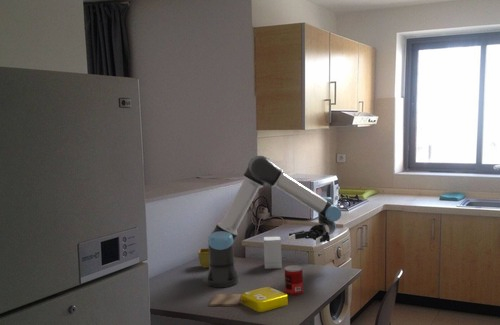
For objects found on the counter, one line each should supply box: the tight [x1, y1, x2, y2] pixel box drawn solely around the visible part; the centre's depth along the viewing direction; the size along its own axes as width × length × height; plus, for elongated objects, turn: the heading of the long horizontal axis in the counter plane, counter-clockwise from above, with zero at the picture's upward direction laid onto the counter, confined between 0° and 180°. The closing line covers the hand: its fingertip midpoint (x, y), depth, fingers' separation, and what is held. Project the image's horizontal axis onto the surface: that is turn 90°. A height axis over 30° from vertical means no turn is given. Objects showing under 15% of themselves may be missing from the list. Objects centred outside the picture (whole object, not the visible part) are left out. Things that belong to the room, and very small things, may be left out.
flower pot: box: [197, 247, 210, 269], centre depth 257 cm, size 9×9×9 cm
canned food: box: [284, 264, 304, 296], centre depth 210 cm, size 8×8×11 cm
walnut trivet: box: [208, 293, 242, 307], centre depth 203 cm, size 12×12×1 cm
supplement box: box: [263, 236, 283, 270], centre depth 253 cm, size 9×9×15 cm
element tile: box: [240, 286, 289, 313], centre depth 198 cm, size 15×15×5 cm
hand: (302, 241), depth 218 cm, fingers open, 13 cm apart
